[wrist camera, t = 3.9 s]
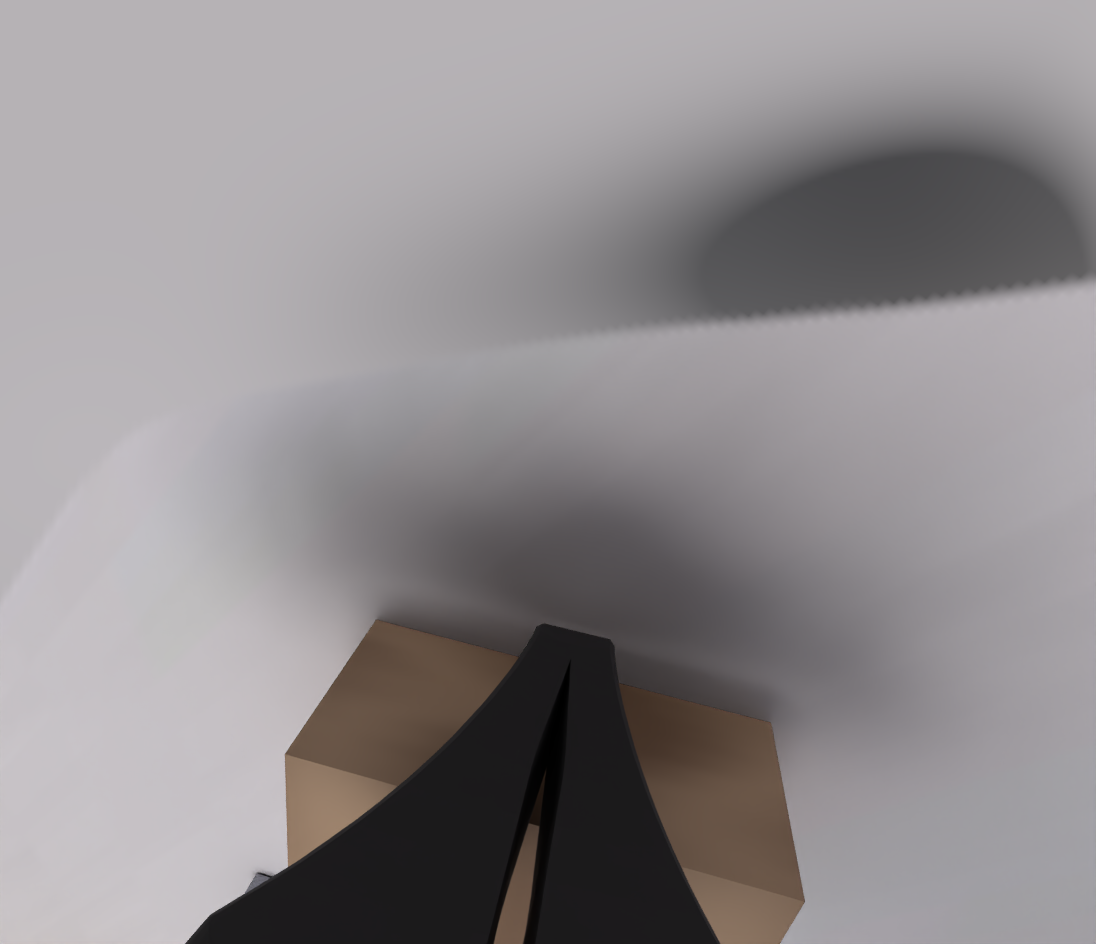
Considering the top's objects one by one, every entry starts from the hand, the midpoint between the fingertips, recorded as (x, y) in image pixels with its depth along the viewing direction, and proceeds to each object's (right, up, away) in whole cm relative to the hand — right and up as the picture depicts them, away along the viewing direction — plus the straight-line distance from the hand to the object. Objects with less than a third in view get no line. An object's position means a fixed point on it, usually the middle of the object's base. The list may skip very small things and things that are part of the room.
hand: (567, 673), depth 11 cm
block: (0, -3, +4) cm, 5 cm away
